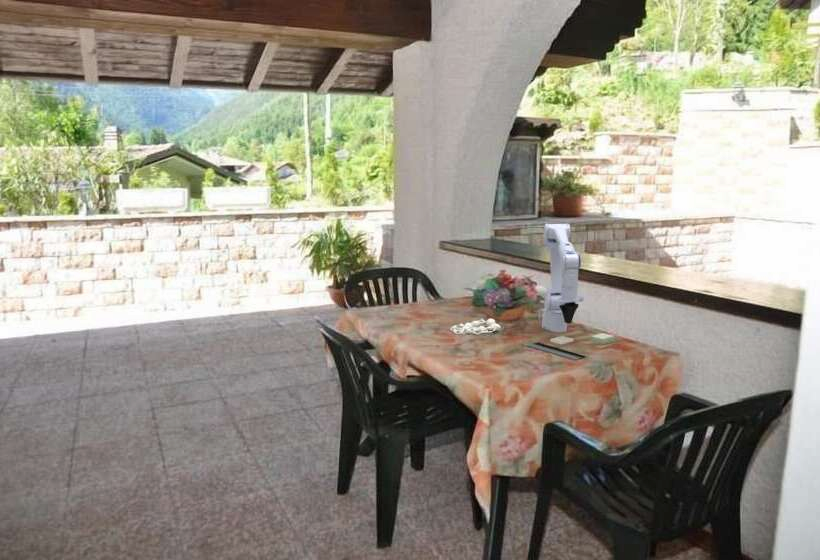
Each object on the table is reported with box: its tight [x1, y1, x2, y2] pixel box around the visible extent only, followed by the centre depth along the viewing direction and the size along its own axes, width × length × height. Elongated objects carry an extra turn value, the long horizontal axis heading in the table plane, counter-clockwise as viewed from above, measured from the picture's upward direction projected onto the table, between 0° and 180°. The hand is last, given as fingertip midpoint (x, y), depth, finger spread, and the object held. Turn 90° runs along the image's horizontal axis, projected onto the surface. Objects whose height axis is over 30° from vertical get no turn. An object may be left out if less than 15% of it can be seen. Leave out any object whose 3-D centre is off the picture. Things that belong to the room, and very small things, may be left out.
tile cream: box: [549, 336, 574, 346], centre depth 219 cm, size 5×7×2 cm
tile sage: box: [591, 332, 615, 344], centre depth 218 cm, size 5×7×2 cm
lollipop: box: [535, 285, 548, 320], centre depth 257 cm, size 6×6×15 cm
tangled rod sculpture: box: [450, 317, 502, 335], centre depth 239 cm, size 19×14×4 cm
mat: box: [526, 342, 588, 361], centre depth 213 cm, size 22×14×1 cm, turn 36°
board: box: [556, 330, 624, 349], centre depth 222 cm, size 20×14×2 cm
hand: (567, 322), depth 218 cm, fingers closed
